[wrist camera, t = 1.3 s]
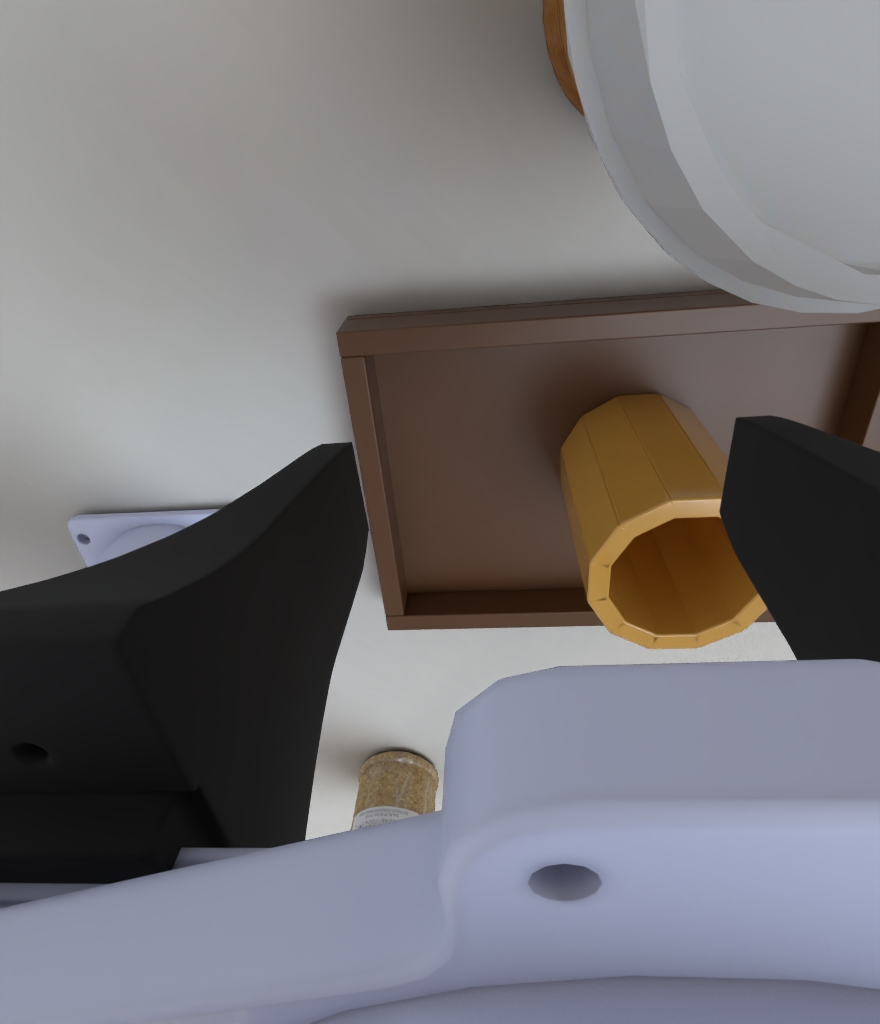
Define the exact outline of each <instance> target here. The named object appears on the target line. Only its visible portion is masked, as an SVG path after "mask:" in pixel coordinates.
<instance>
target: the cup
mask: <svg viewBox="0 0 880 1024" xmlns="http://www.w3.org/2000/svg"><path fill="white" fill-rule="evenodd" d="M727 465H728V457H727V456H726V455H725V453H724V452H723V451H722V449H721V448H720V447H719V445H718V444H717V443H716V441H715V440H714V439H713V437H712V436H711V435H710V433H709V432H708V431H707V429H706V428H705V427H704V425H703V424H702V423H701V421H700V420H699V419H698V417H697V416H696V415H695V413H694V412H693V411H692V410H691V409H689V408H687V407H685V406H683V405H681V404H679V403H677V402H675V401H673V400H671V399H669V398H668V397H666V396H664V395H662V394H640V395H622V396H618V397H615V398H613V399H611V400H609V401H607V402H606V403H604V404H602V405H600V406H599V407H597V408H595V409H593V410H592V411H590V412H588V413H586V414H585V415H583V416H582V417H581V418H580V419H579V421H578V422H577V424H576V425H575V427H574V428H573V430H572V432H571V433H570V435H569V436H568V438H567V439H566V441H565V442H564V444H563V445H562V448H561V454H560V483H561V487H562V491H563V496H564V500H565V505H566V509H567V514H568V518H569V523H570V527H571V532H572V536H573V540H574V545H575V549H576V554H577V558H578V563H579V567H580V572H581V576H582V580H583V585H584V589H585V594H586V598H587V601H588V603H589V605H590V606H591V608H592V609H593V610H594V612H595V613H596V615H597V616H598V617H599V619H600V620H601V621H602V623H603V624H604V626H605V627H606V628H607V630H608V631H609V632H610V633H611V634H614V635H616V636H619V637H621V638H624V639H626V640H628V641H631V642H633V643H636V644H638V645H641V646H643V647H645V648H648V649H685V648H698V647H703V646H705V645H708V644H710V643H713V642H716V641H718V640H721V639H723V638H726V637H728V636H731V635H734V634H736V633H739V632H741V631H743V630H744V629H747V628H748V627H749V626H750V625H751V624H752V623H753V622H754V621H755V620H756V619H757V618H758V617H759V616H760V615H761V614H762V613H764V612H765V611H766V610H767V607H766V605H765V604H764V602H763V600H762V599H761V597H760V595H759V594H758V592H757V590H756V589H755V587H754V585H753V584H752V582H751V580H750V579H749V577H748V575H747V573H746V572H745V570H744V568H743V567H742V565H741V563H740V561H739V560H738V558H737V556H736V554H735V552H734V550H733V547H732V545H731V542H730V540H729V537H728V535H727V532H726V529H725V527H724V524H723V521H722V518H721V516H720V513H719V510H720V504H721V499H722V493H723V487H724V482H725V476H726V470H727Z"/></svg>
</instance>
